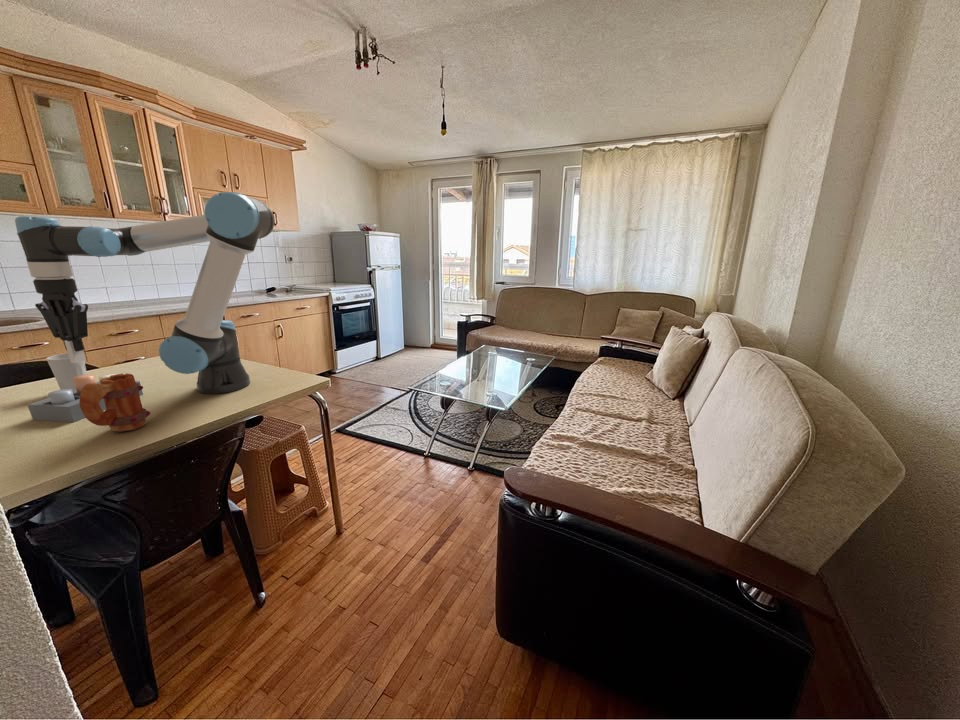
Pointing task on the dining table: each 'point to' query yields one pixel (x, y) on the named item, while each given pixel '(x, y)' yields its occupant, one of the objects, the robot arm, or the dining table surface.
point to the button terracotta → (83, 381)
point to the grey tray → (61, 409)
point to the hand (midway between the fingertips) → (78, 361)
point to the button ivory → (106, 376)
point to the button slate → (61, 396)
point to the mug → (114, 403)
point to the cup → (65, 370)
